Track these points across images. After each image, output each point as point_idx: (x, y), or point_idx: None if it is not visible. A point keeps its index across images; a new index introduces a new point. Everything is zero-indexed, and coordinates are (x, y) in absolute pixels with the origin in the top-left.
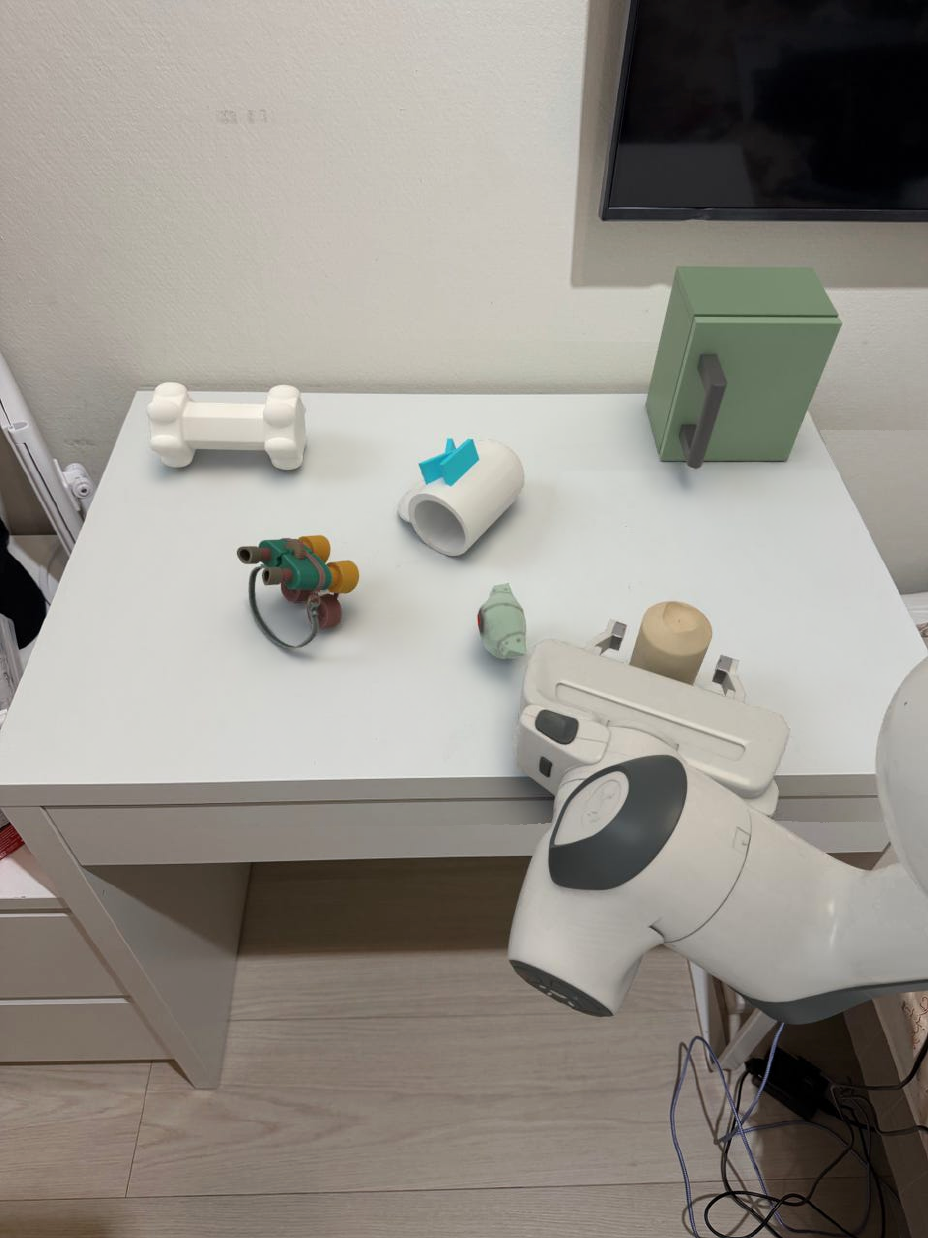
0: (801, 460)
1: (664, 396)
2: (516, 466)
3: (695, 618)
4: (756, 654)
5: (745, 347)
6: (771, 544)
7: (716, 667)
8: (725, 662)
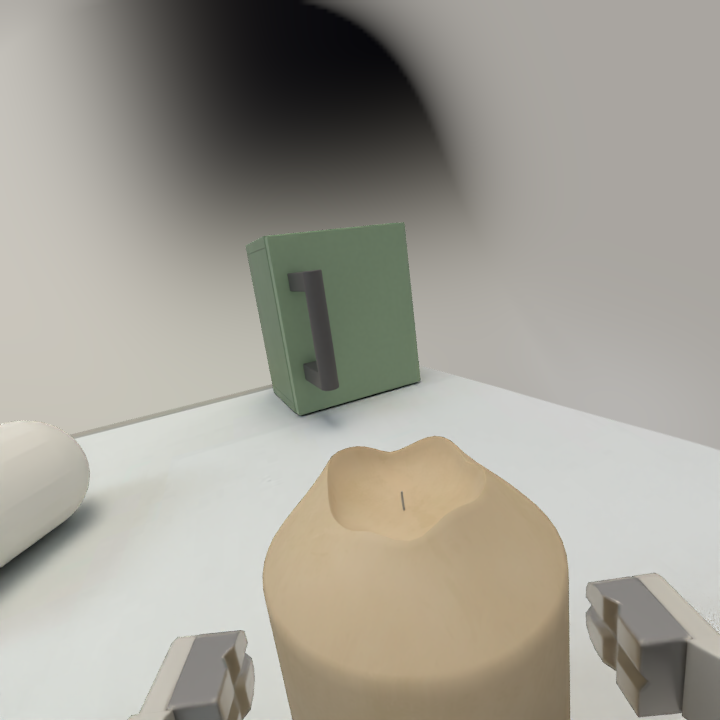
0: (432, 378)
1: (278, 354)
2: (54, 440)
3: (451, 470)
4: (578, 572)
5: (329, 260)
6: (459, 432)
7: (604, 642)
8: (633, 602)
